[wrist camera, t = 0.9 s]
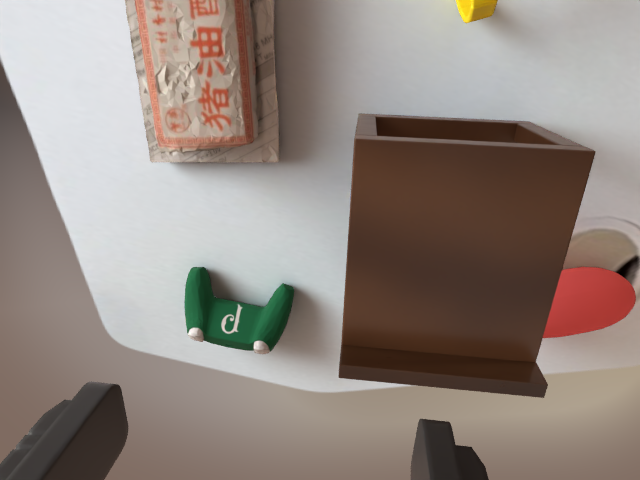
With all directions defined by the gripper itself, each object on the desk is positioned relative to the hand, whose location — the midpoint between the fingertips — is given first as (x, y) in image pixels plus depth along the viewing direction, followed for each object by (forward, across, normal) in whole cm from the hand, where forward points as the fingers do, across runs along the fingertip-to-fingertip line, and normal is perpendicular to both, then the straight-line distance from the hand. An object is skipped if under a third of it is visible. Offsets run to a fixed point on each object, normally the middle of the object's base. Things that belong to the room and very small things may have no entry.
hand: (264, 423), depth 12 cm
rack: (+24, -8, +2) cm, 26 cm away
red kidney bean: (+24, -19, +8) cm, 32 cm away
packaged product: (+25, +10, -10) cm, 28 cm away
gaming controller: (+24, +8, +12) cm, 28 cm away
